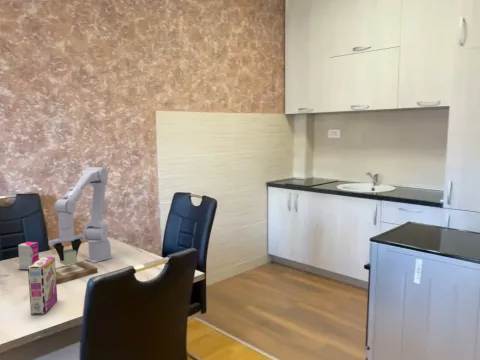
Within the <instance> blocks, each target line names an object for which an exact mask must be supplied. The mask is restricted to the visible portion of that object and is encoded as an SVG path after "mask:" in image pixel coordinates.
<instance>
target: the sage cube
mask: <svg viewBox="0 0 480 360" xmlns="http://www.w3.org/2000/svg"><path fill="white" fill-rule="evenodd" d="M63 255H64V261H61V260H60V259H59V263H60V264H61V265H63V266H66V265H70V264H74V263H77V262H78V254H77V255H76V251H75V250H73V249H72V248H68V249H64V250H63Z"/></svg>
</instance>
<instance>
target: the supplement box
mask: <svg viewBox="0 0 480 360" xmlns="http://www.w3.org/2000/svg"><path fill="white" fill-rule="evenodd" d="M17 246H18V265H19V271H27V272H28V267H29V266H31V265H32V264H33V263H35V262H36V261H38V260H39V259H40V256H39V242H38V241H36V242H34V241H26V242H23V243H20V244H18V245H17Z"/></svg>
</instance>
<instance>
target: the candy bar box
mask: <svg viewBox="0 0 480 360" xmlns="http://www.w3.org/2000/svg"><path fill="white" fill-rule="evenodd" d="M56 268H57V267H56V257H54V256H50V257H49V256H46V257H44V256H43V257H39V260H38V261H36V262H35V263H33V264H32V265H31V266H29V267H28V271H27V274H28V275H27V276H28V289H29V307H30V315H45V314H46V313H48V311H49V310H50V309H51V308H52V307H53V306H54V304H55V303H56V302H57V301H58V290H57V289H58V288H57V287H58V286H57V285H56Z"/></svg>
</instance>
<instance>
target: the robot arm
mask: <svg viewBox="0 0 480 360" xmlns="http://www.w3.org/2000/svg"><path fill="white" fill-rule="evenodd" d="M108 174H109V172H108V170H107V168H106V167H104V166H97V167H96V166H91V167H90V166H84V167H83V169H82V170H81V177H80V178H79V180H78V181H77V182H76V184H75V186H70V187H69V188H68V190H67V191H66V193H65V194H64V195H63V197H62V198H60V199H58V200H56V201H55V203H54V206H53V209H54V211H55V213H56V214H55V215H56V217H57V220H58V221H57V222H58V234H59V235H58V236H59V237H56V238H53V239H51V240H48V246H49V247H53V248H54V249H55V250H56V252H57V254H58V257H59V261H60V260H61V261H64V255H63V250H65V248H64V247H65V245H63V244H65V243H69V242H70V244H71V249H73V250H75V251H76V255H77V256H78V252H79V249H80V246H81V244H82V240H85V241H86V243H87V244H88V257H86V258H85V260H86V261H89V262H91V263H98V262H101V261H106V260H110V259H112V258H113V257H112V250H111V249H112V247H111V243H110V240H109V239H108V236H109V231H108V224H107V223H106V222H104V221H103V219H104V205H105V195H106V186H107V184H108V177H109V176H108ZM88 185H91V186H92V187H93V191H92V192H93V193H92V204H91V213H90V214H91V215H90V220H89V221H88V222H86V224H85V228H84V230H83V233H80V234H79V233H78V234H75V227H74V226H75V225H74V212H75V210H76V207H77V202H79V200H80V198H81V197H82V196H83V190H84V189H86V187H87V186H88Z"/></svg>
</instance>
